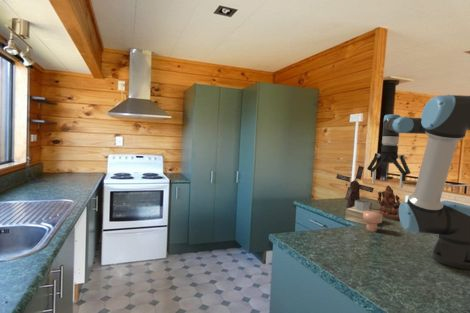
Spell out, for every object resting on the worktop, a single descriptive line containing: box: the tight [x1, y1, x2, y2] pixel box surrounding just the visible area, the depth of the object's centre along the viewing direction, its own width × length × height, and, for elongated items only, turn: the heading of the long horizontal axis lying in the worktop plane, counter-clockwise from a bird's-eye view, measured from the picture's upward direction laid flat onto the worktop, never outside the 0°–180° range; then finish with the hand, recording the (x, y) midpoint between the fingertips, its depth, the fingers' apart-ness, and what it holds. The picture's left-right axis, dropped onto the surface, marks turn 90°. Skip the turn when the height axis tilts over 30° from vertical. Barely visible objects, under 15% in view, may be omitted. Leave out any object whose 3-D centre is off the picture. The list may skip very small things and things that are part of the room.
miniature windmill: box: [335, 165, 375, 209], centre depth 195 cm, size 25×11×30 cm, turn 62°
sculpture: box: [377, 185, 402, 221], centre depth 176 cm, size 17×8×20 cm, turn 22°
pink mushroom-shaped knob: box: [363, 211, 383, 233], centre depth 149 cm, size 9×9×9 cm
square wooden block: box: [344, 206, 380, 225], centre depth 168 cm, size 14×14×6 cm
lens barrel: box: [354, 199, 373, 212], centre depth 167 cm, size 8×8×5 cm
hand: (386, 185), depth 149 cm, fingers open, 13 cm apart
